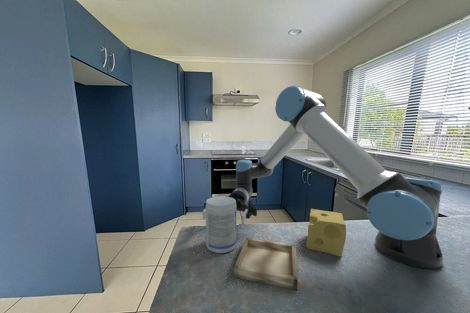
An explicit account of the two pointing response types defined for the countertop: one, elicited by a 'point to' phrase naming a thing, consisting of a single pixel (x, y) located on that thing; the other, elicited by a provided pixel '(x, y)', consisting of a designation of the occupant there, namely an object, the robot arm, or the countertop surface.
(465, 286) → the countertop surface
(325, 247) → the cheese
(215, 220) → the supplement tub
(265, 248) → the tray
